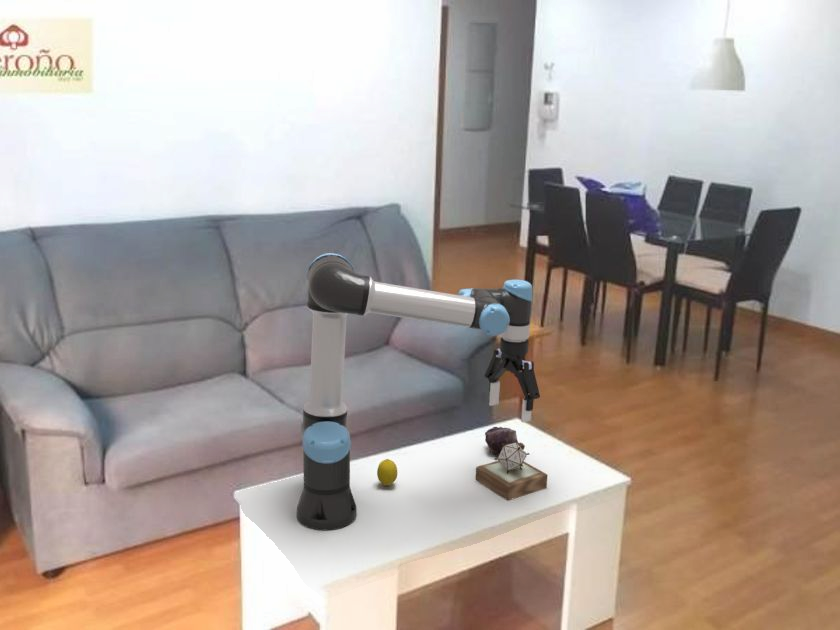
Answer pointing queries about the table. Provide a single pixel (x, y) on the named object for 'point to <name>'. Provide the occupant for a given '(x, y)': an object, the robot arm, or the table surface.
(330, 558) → the table surface
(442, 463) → the table surface
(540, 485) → the framed mirror
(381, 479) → the lemon
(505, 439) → the rock
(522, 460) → the game die
